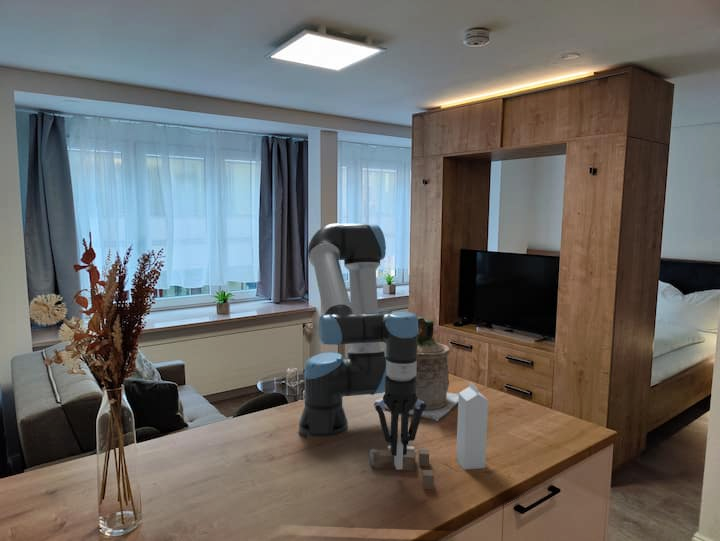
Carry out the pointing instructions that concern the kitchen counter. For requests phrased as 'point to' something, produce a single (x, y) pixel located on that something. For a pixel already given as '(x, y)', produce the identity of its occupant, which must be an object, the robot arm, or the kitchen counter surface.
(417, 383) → the cookie jar
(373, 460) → the hinged leg
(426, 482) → the stool seat
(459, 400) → the milk
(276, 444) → the kitchen counter surface
